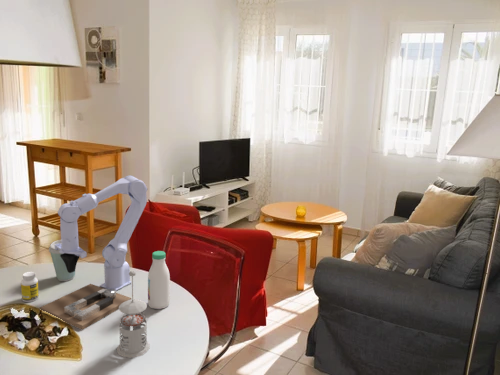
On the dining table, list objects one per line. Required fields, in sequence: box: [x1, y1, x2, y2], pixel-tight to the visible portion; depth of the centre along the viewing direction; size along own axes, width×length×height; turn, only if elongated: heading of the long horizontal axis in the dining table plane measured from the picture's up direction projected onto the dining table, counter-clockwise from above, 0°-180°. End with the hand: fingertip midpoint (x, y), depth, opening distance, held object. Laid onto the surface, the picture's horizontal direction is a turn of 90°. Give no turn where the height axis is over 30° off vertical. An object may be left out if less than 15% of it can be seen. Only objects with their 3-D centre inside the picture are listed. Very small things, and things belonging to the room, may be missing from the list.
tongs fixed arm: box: [74, 297, 113, 320], centre depth 144 cm, size 14×4×2 cm, turn 152°
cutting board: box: [39, 283, 132, 331], centre depth 149 cm, size 22×21×2 cm
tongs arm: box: [64, 288, 117, 316], centre depth 148 cm, size 18×6×2 cm, turn 150°
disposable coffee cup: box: [48, 239, 77, 282], centre depth 168 cm, size 11×11×15 cm
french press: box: [116, 270, 151, 359], centre depth 125 cm, size 10×12×25 cm
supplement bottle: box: [20, 271, 39, 303], centre depth 152 cm, size 5×5×10 cm
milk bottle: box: [147, 250, 171, 310], centre depth 151 cm, size 8×8×20 cm
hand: (71, 271), depth 155 cm, fingers closed
